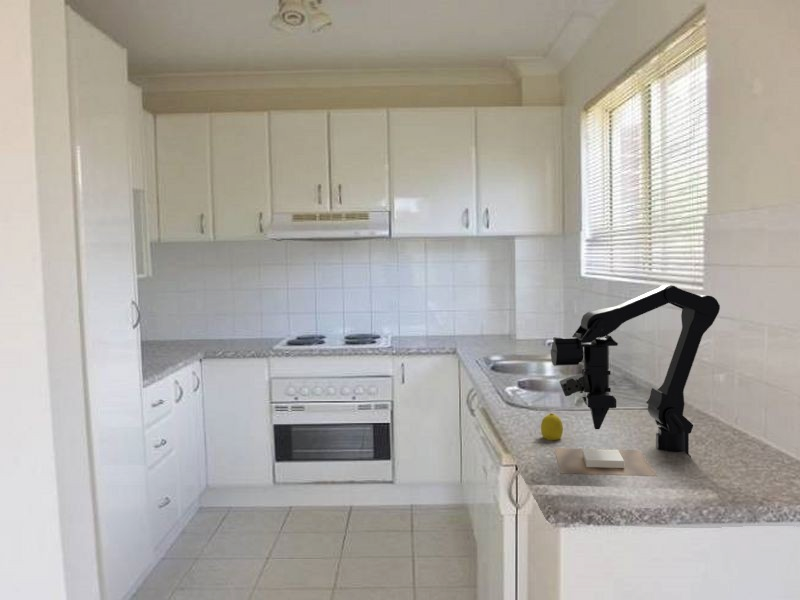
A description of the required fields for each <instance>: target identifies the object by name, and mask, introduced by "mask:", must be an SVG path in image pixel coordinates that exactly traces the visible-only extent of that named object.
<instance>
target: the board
mask: <svg viewBox="0 0 800 600" xmlns="http://www.w3.org/2000/svg"><path fill="white" fill-rule="evenodd" d="M582 449H583V448H555V447H554V452H555V456H556V463H557V465H558V466H557V467H558V470H559V473H560V474H562V475H563V474H567V475H597V476H599V475H603V476H634V477H636V476H637V477H638V476H639V477H642V476H643V477H658V475H657V473H656V472H655V470H654V469H653V468H652V465H651V464H650V462H648V460H647V458H646V456H645V455H644V453H643V452H642V450H640V449H617V450H618V451H619V452H620V454H621V456H622V458H623V460H624V468H604V467H586V464H585V461H584V459H583V456H582ZM602 450H613V449H607V448H602Z"/></svg>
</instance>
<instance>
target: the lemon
mask: <svg viewBox="0 0 800 600" xmlns="http://www.w3.org/2000/svg"><path fill="white" fill-rule="evenodd" d="M563 426H564V425H563V422H562V419H561V418H560V417H559V416H557V415H556V414H554V413H553V412H550V413H549V414H547V415H545V416H544V417H543V418H542V420H541V423H540V432H541V435H542V437H543V439H545V440H548V441H558V440H560V439H561V438H562V436H563V432H564V427H563Z"/></svg>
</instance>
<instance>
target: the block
mask: <svg viewBox="0 0 800 600" xmlns="http://www.w3.org/2000/svg"><path fill="white" fill-rule="evenodd" d="M581 449H582V456H583V459H584V461H585V464H586V467H604V468H624V460H623V458H622V456H621V454H620V452H619V451H618V450H619V449H612V450H602V449H603V448H602V449H600V448H598V449H597V448H581Z"/></svg>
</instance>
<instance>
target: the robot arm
mask: <svg viewBox="0 0 800 600" xmlns="http://www.w3.org/2000/svg"><path fill="white" fill-rule="evenodd" d="M667 304H670V305H673V306H674V307H677V308H679V309H681V314H680V317H681V319H680V320H681V330H680V334H679V337H678V340H677V342H676V345H675V347H674V352H673V354H672V358H671V360H670V363H669V366H668V369H667V372H666V375H665V378H664V379H663V383H662V385H661V386H660V387H659V388H657V389H656V388H655V387H652V388H651V389H650V393H649V394H650V395H649V397H648V400H646V402H645V403H646V404H647V412H648V413H649V416H650V417H651V418H653V419H654V421H655V424H656V425H657V426H658V427H657V433H655V447H656V450H658V451H665V452H671V453H682V452H685V454H686V455H688V457H689V458H692V456H691V454H690V453H689V452H690V451H689V450H690V448H689V446H690V445H689V441H690V440H689V439H690V437H689V434H691V433H692V430H693V428H694V424H693V423H692V422H691V421H690V420H689V419H688V418H686V417H685V416H684V410H685V395H684V392H685V391H684V390H685V387H686V384H687V382H688V379H689V376H690V373H691V370H692V368H693V365H694V361H695V359H696V356H697V352H698V349H699V347H700V344H701V341H702V338H703V336H704V334H705V333H706V332H707V330H709V328H710V327H711V326H712V325H713V324H714V322H715V320H716V318H717V316H718V315H719V313H720V309H721V306H720V303H719V301H718V300H717V298H715V297H713V296H712V295H706V294H698V293H693V292H691V291H687V290H684V289H681V288H679V287H677V286H675V285H671V284H662V285H660V286H659V287H658V288H655V289H653V290H650V291H648V292H646V293H644V294H641V295H639V296H637V297H635V298H632V299H629V300H627V301H625V302H622V303H620V304H618V305H615V306H612V307H611V306H610V307H605V308H600V309H596V310H592V311H591V310H590V311H588V312H585V314H583V315H582V316H581V317H582V318H581V320H580V325H579V326H578V327H577V329H576V330H575V332H574V333H573V334H572V337H562V336H561V337H560V336H554V337H553V338H552V339H553V342H552V345H551V349H550V359H551V364H552V365H553V367H559V366H561V367H562V366H565V367H566V366H579V364H580V363H583V366H582V368H581V373H578V374H575V375H572V376H569V377H566V378H564V379H561V380H559V385H560V387H561V390H562V392H563V395H564V397H569V396H572V394H575V393H578V392H579V393H580V394H583V392H584V394H585V396H582V398H581V399H582V400H583V401H584V404H585V405H586V406H587V407H588V408H589V411H590V415H591V420H592V424H593V428H594V429H595V430H600V429H601V427H602V425H603V422H604V420H605V418H606V417H607V413H608V411H609V410H610V409H616V408H617V398H616V397H615V396H614V395H613V394H612V393H611V392H612V391H611V386H610V375H611V369H610V364H609V363H610V361H609V360H610V357H609V355H610V353H609V352H610V351H609V349H610V348H609V347H617V346H618V345H619V342H617V341H616V340H614V339H613V337H612V335H610V334H611V333H613V332H614V331H617V329H618V328H619V327H620V326H621V325H623V324H624V323H626V322H627V321H630V320H632V319H635V318H637V317H640V316H641V315H644V314H647V313H649V312H651V311H654V310H655V309H658V308H661V307H664V305H667Z"/></svg>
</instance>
